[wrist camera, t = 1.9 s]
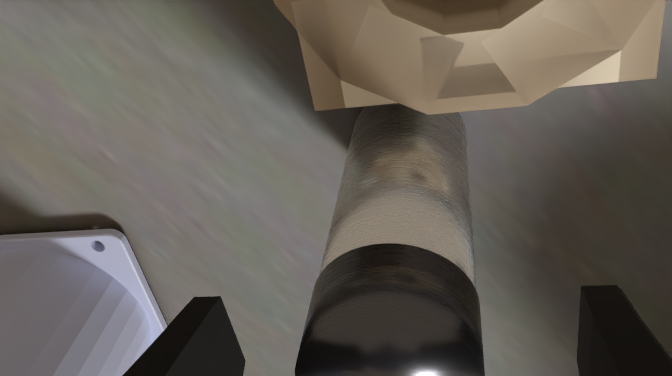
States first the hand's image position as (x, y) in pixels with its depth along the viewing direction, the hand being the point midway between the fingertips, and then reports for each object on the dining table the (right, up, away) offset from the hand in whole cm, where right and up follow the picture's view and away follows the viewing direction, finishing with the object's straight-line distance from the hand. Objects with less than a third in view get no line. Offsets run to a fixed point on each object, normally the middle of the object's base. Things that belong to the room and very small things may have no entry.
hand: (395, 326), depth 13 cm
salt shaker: (+1, +4, +6) cm, 8 cm away
